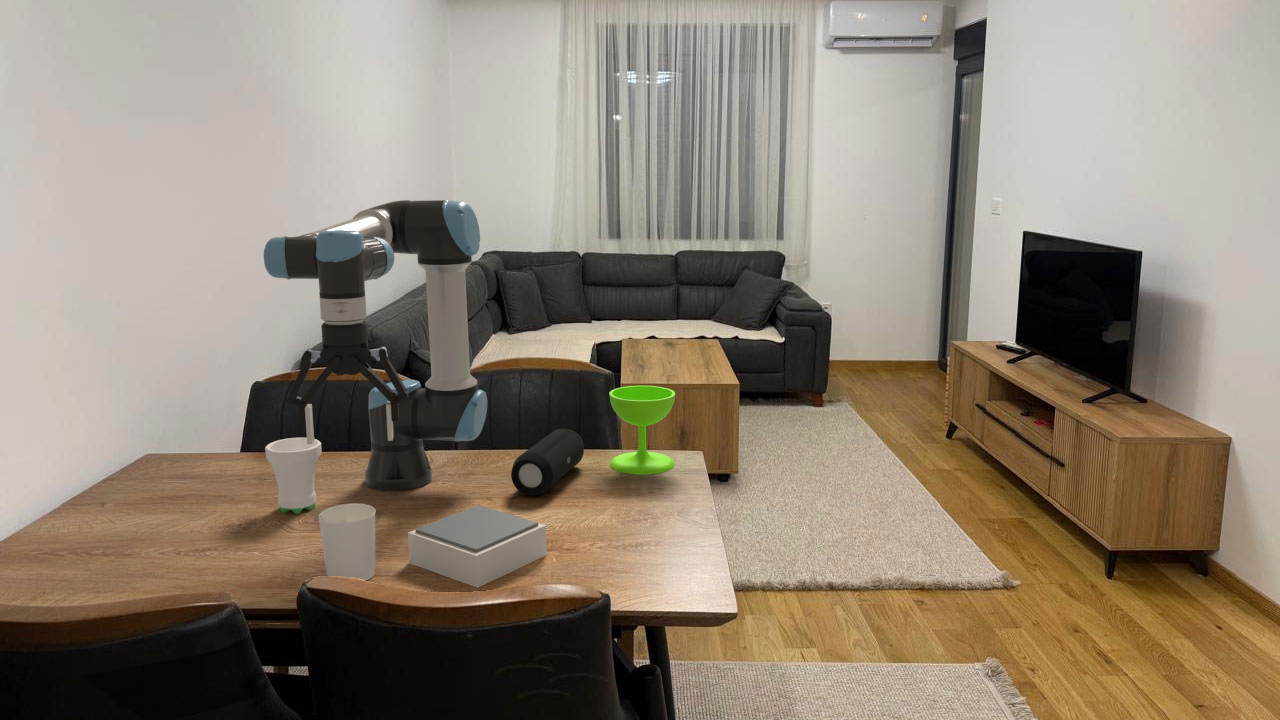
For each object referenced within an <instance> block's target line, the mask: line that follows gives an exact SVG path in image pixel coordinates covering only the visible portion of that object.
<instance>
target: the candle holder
mask: <svg viewBox="0 0 1280 720" xmlns="http://www.w3.org/2000/svg"><path fill="white" fill-rule="evenodd" d="M376 511H377V510H376V508H374V506H372V505H369V504H366V503H357V502H356V503H344V504H338V505H334V506H330V507H327V508H325V509H323V510H322V511H320V512H319V513H318V516H317V517H318V520H319V521H318V522H319V523H318V524H319V529H320V537H321V544H322V551H323V552H322V553H323V559H324V568H325V573H326V576H327V575H329V576H347V577H355V578H360V579H365V580H367V581H369V580H371V579H372V578H373V577H374V576H375V574H376V513H377V512H376Z"/></svg>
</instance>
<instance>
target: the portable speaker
mask: <svg viewBox="0 0 1280 720" xmlns="http://www.w3.org/2000/svg"><path fill="white" fill-rule="evenodd" d="M584 450H585V447H584V441H583V439H582V437H581V435H580V434H578V433H577V432H576V431H575V430H572V429H568V428H558V429H555V430H553V431H552V432H550V433H549V434H547V435H546V436H545V437H543V438H542V439H541V440H539V441H538V442H536V443H535V444H534V445H532V446H531V447H530V448H528V449H527V450H526V451H524V452H522V454H520V455H519V456H517V458H516V459H515V460H514V462H513V465H512V466H511V473H510V475H511V476H510V477H511V482H512V484H513V486H514V487H515V488H516V490H517V491H519V492H520V493H522V494H524V495H527V496H539V495H542V494H545V493H546V492H547V491H548V490H549V489H551V488H552V487H553V486H554V485H555V484H556V483H557V482H558V481H559V480H561V478H563V477H564V476H565V475H566V474H567V473H569V472H570V471H571V470H572V469H573V468H575V466H577V465H578V464H579V463H580V462H581V461H582V459H583V456H584V453H585V451H584Z"/></svg>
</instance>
